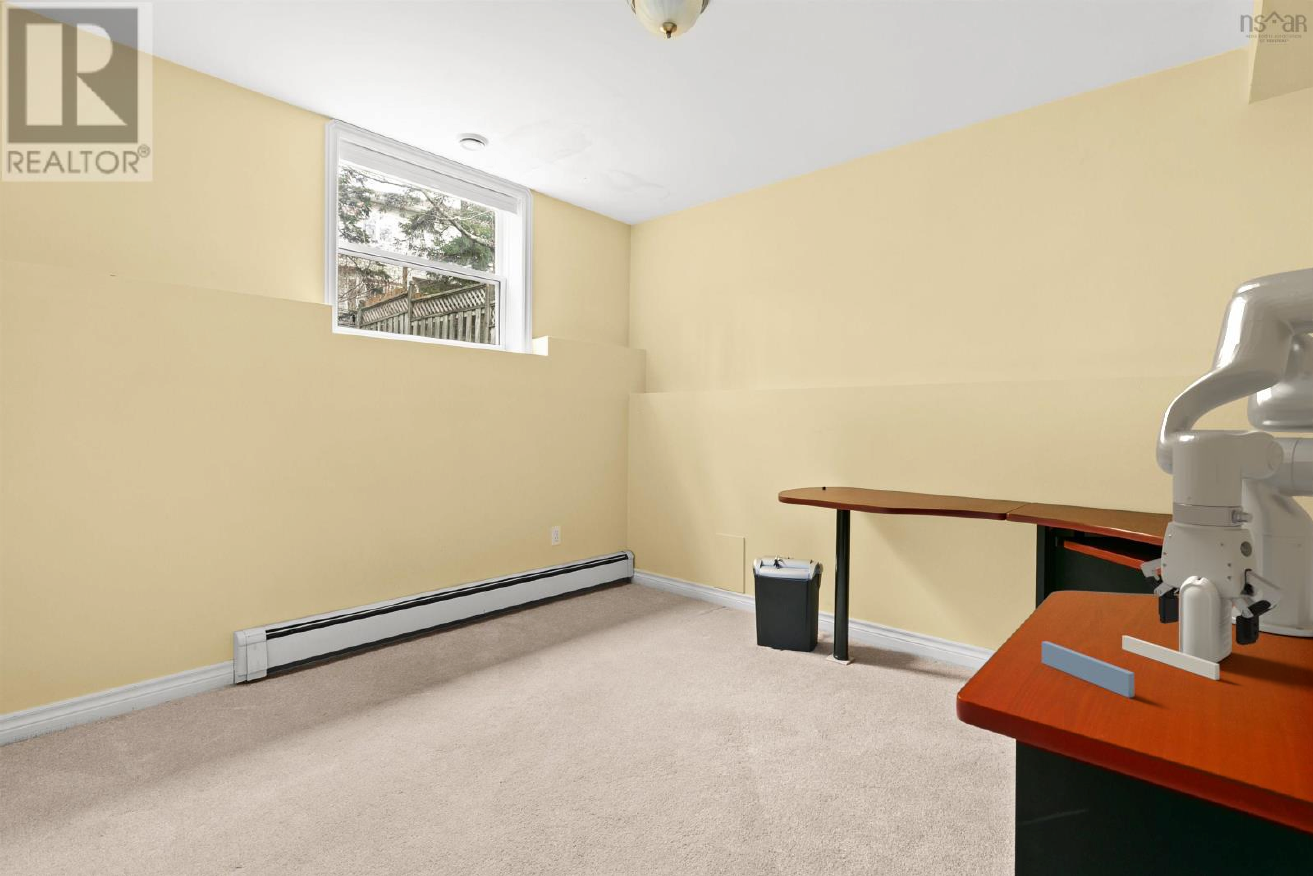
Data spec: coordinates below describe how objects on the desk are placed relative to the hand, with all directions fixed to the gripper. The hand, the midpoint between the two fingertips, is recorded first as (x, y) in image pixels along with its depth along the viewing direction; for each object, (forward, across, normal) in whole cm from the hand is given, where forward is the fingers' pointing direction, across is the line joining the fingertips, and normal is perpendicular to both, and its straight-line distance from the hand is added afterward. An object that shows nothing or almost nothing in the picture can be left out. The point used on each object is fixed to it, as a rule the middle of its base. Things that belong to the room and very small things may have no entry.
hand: (1205, 632), depth 89 cm
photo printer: (+4, 0, 0) cm, 4 cm away
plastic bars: (+4, 0, +16) cm, 16 cm away
